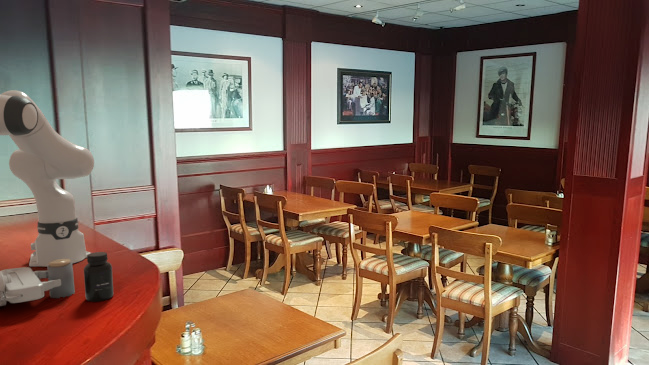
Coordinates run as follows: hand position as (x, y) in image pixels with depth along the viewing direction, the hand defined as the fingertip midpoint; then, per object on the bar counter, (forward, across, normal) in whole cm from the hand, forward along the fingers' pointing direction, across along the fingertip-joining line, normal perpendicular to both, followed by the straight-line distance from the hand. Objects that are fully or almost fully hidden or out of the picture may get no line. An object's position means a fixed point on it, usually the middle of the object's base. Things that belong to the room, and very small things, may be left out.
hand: (56, 277), depth 131 cm
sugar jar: (+1, 0, +5) cm, 5 cm away
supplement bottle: (+8, -10, +5) cm, 14 cm away
